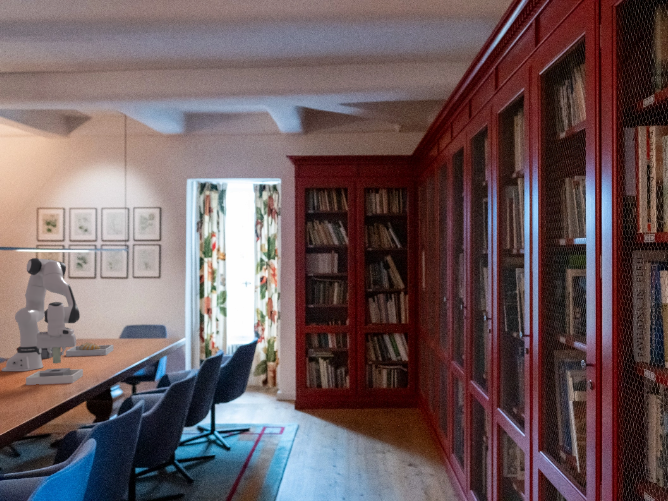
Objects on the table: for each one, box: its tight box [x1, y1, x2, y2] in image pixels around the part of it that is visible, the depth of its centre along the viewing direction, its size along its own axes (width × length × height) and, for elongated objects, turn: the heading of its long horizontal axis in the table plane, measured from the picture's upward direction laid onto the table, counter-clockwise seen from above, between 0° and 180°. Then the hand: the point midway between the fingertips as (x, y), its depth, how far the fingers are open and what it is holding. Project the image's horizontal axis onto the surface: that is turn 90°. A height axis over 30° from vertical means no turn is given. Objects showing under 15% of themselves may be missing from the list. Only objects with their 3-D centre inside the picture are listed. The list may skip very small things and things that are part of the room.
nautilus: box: [79, 341, 100, 350], centre depth 386 cm, size 8×21×15 cm
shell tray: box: [65, 344, 114, 357], centre depth 386 cm, size 27×21×4 cm
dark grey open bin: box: [41, 348, 53, 360], centre depth 374 cm, size 8×16×6 cm, turn 9°
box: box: [25, 367, 84, 386], centre depth 299 cm, size 24×18×6 cm
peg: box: [52, 347, 62, 364], centre depth 299 cm, size 4×4×9 cm
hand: (56, 355), depth 299 cm, fingers closed on peg, 4 cm apart
